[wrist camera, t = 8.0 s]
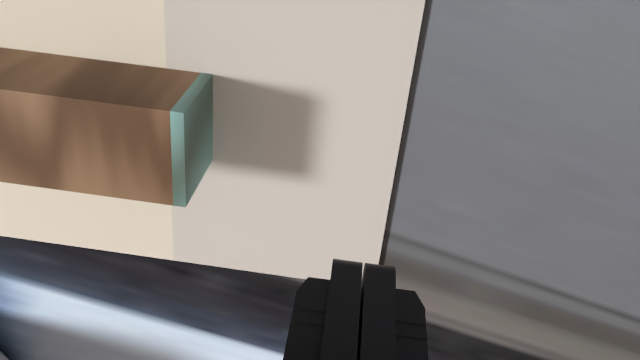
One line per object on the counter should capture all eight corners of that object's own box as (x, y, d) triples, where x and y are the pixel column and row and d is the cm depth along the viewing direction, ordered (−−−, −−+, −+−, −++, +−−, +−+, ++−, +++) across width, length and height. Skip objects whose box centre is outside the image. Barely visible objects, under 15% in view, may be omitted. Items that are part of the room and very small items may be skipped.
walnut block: (212, 74, 25) (-22, 44, 25) (183, 112, 21) (-87, 77, 22) (212, 159, 27) (-5, 130, 27) (185, 207, 23) (-62, 173, 24)
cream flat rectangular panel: (-100, -120, 23) (-104, -120, 22) (435, -59, 22) (435, -58, 22) (-19, 230, 31) (-21, 232, 31) (374, 286, 30) (374, 288, 30)
